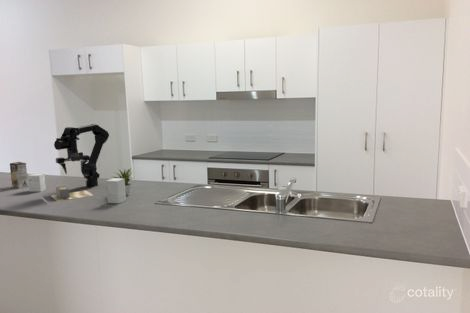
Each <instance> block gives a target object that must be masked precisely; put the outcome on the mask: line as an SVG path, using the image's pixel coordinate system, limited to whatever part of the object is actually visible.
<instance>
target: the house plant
mask: <svg viewBox="0 0 470 313" xmlns="http://www.w3.org/2000/svg"><path fill="white" fill-rule="evenodd" d="M131 169H132V167H131V168H129V169H127V170H126V169H124V171H123V170H121V169H118V171H119V172H120V174H119V173H118V172H117V171H116V172H115V171H114V174H116V175H117V176H118V177H117V176H112V179H113V178H121V179H125V193H126V197H128V196H130V195H131V187H132V184H131V183H129V182H130V180H132V179H133V177H131V175H132V173H133V171H132V170H131ZM127 195H128V196H127Z"/></svg>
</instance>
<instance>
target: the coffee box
mask: <svg viewBox="0 0 470 313" xmlns="http://www.w3.org/2000/svg"><path fill="white" fill-rule="evenodd" d="M9 170H10V177H11V178H10V179H11V180H10V181H11V187H12V188H16V189H23V188H24V189H25V188H29V185H28V172H27V170H28V169H27V162H22V161H17V162H10V163H9Z"/></svg>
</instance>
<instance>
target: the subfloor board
mask: <svg viewBox="0 0 470 313" xmlns="http://www.w3.org/2000/svg"><path fill="white" fill-rule="evenodd" d="M69 195H70V198H63V199H60V198H59V197H58V196H57V194H53V195H51V197H52V198H53V199H54V200H55V201H56V202H61V201H62V202H63V201H67V200H73V199H80V198H85V197H93V196H94V194H92V193H91V192H90V191H88V190H79V191H73V192H69Z"/></svg>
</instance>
